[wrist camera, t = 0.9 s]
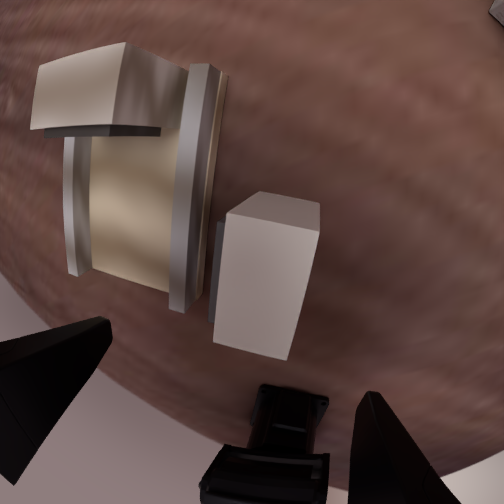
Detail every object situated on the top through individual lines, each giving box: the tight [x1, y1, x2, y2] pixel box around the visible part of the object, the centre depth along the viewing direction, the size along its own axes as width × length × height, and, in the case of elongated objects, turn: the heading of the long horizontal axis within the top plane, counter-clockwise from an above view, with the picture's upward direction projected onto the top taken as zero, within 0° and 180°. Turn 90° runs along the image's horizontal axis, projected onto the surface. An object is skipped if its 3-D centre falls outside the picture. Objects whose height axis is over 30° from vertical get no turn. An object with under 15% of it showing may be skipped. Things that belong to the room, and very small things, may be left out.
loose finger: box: [208, 191, 320, 361], centre depth 17 cm, size 5×7×7 cm, turn 172°
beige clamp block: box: [30, 42, 228, 313], centre depth 17 cm, size 16×12×8 cm
